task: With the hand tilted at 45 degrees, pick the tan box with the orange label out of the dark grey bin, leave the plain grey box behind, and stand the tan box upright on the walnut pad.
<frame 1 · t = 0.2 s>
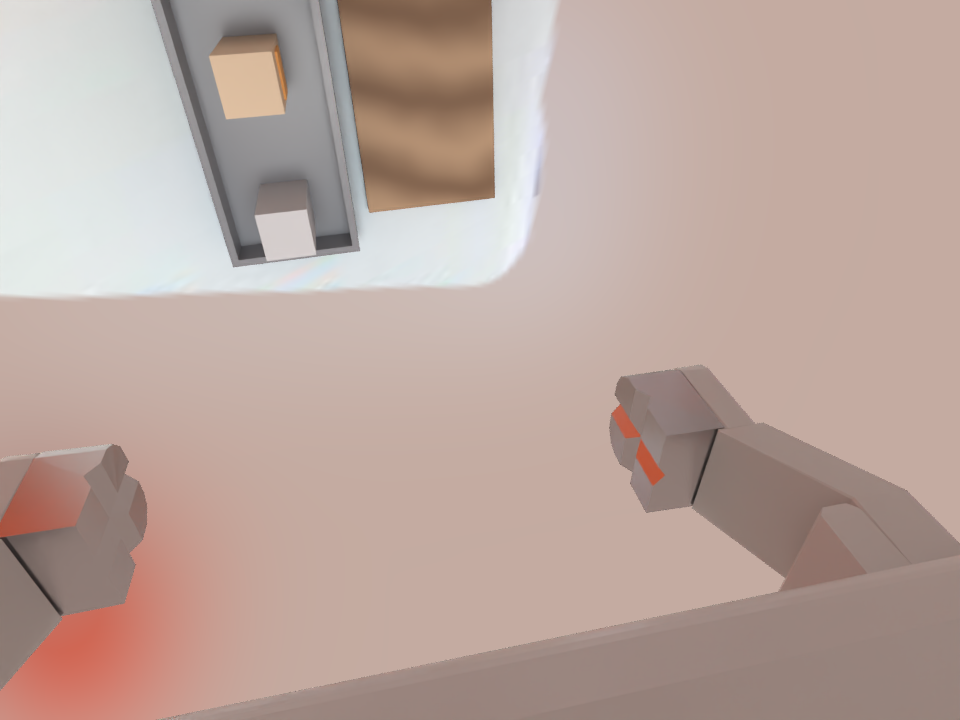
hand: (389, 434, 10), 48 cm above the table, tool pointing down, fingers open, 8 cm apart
bin: (270, 121, 50), on the table
plain box: (288, 203, 54), point 1 cm above the table, touching bin
pad: (421, 88, 52), on the table
labelled box: (256, 63, 47), point 1 cm above the table, touching bin
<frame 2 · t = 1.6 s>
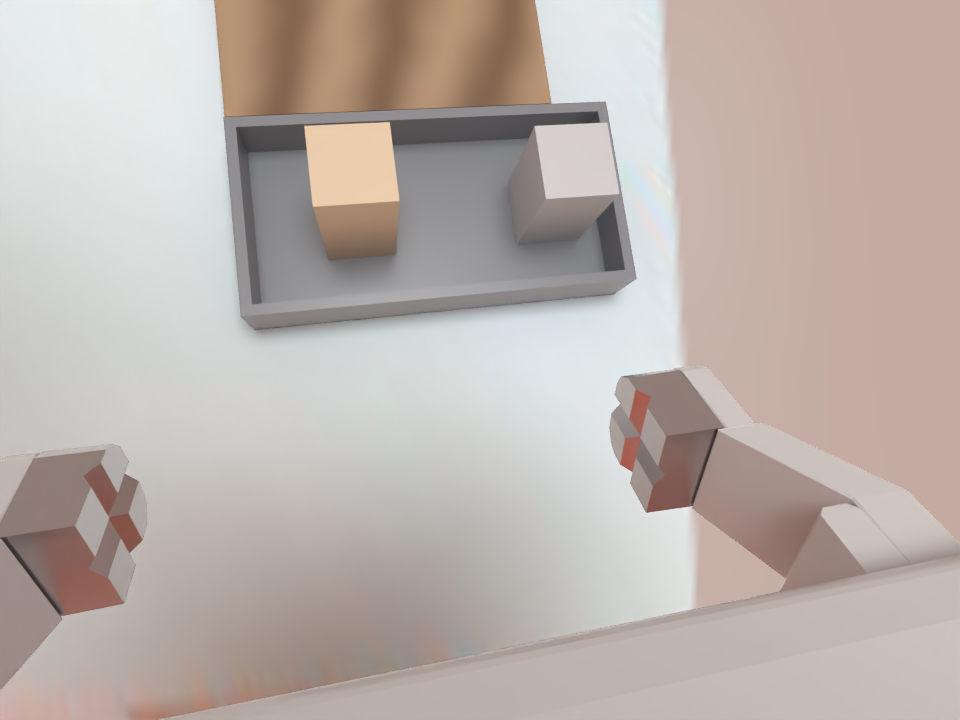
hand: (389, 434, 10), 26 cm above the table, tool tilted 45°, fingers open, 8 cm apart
bin: (432, 223, 38), on the table
plain box: (542, 211, 38), point 1 cm above the table, touching bin
pad: (384, 33, 39), on the table
labelled box: (359, 225, 36), point 1 cm above the table, touching bin
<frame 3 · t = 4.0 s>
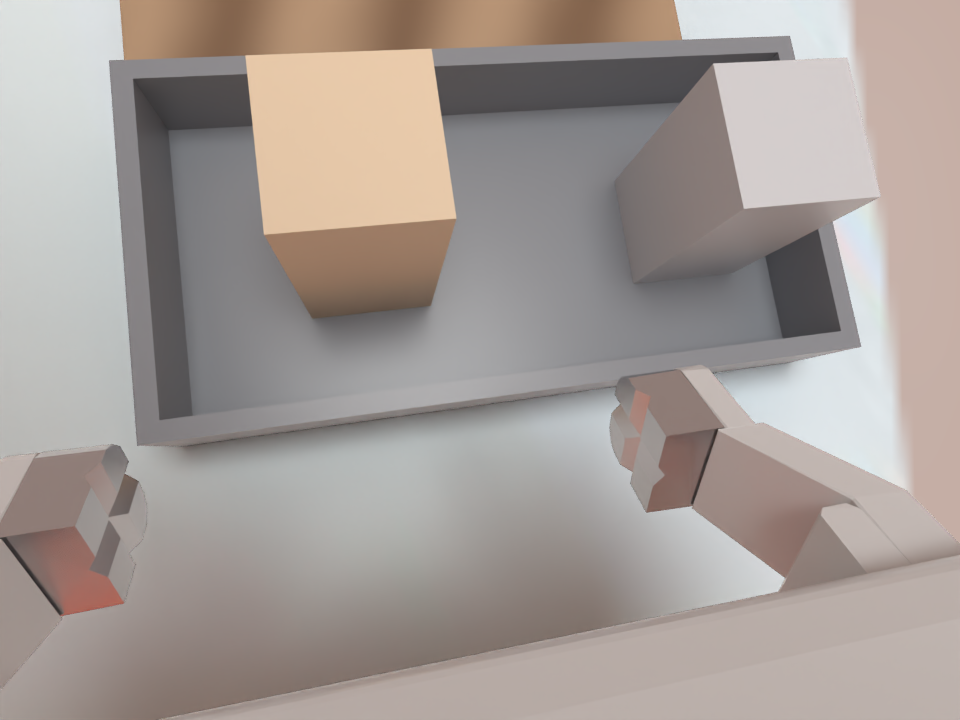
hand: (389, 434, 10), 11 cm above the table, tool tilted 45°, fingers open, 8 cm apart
bin: (489, 249, 22), on the table
plain box: (673, 227, 23), point 1 cm above the table, touching bin
labelled box: (365, 255, 21), point 1 cm above the table, touching bin
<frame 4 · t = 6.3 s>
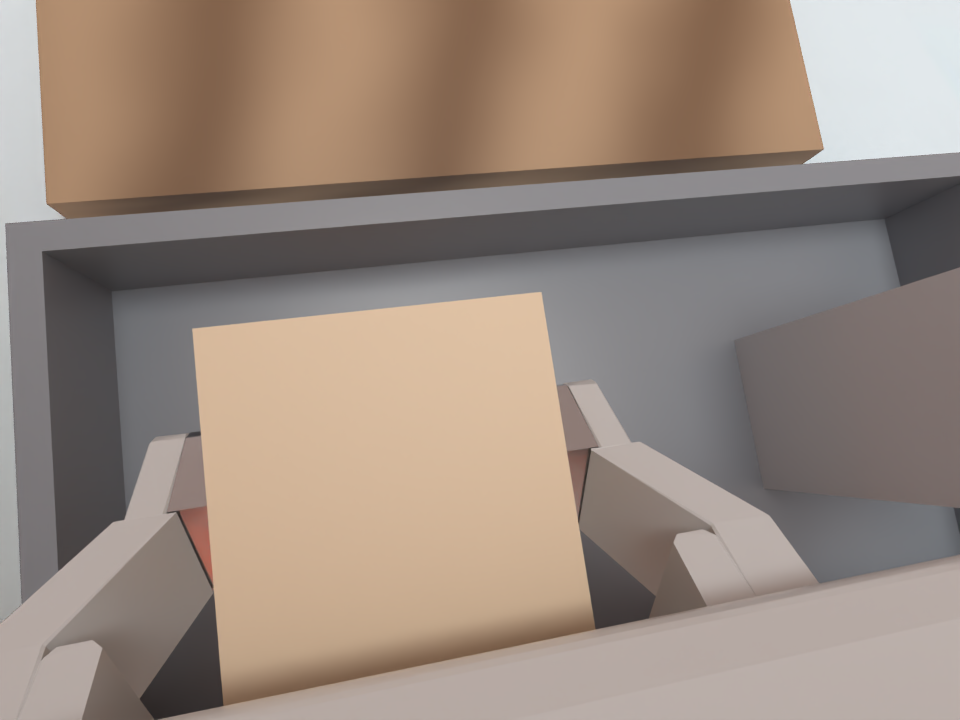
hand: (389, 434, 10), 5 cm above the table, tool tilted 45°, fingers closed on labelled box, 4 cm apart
bin: (563, 440, 16), on the table
plain box: (814, 403, 16), point 1 cm above the table, touching bin
labelled box: (392, 466, 15), point 1 cm above the table, touching bin, gripper
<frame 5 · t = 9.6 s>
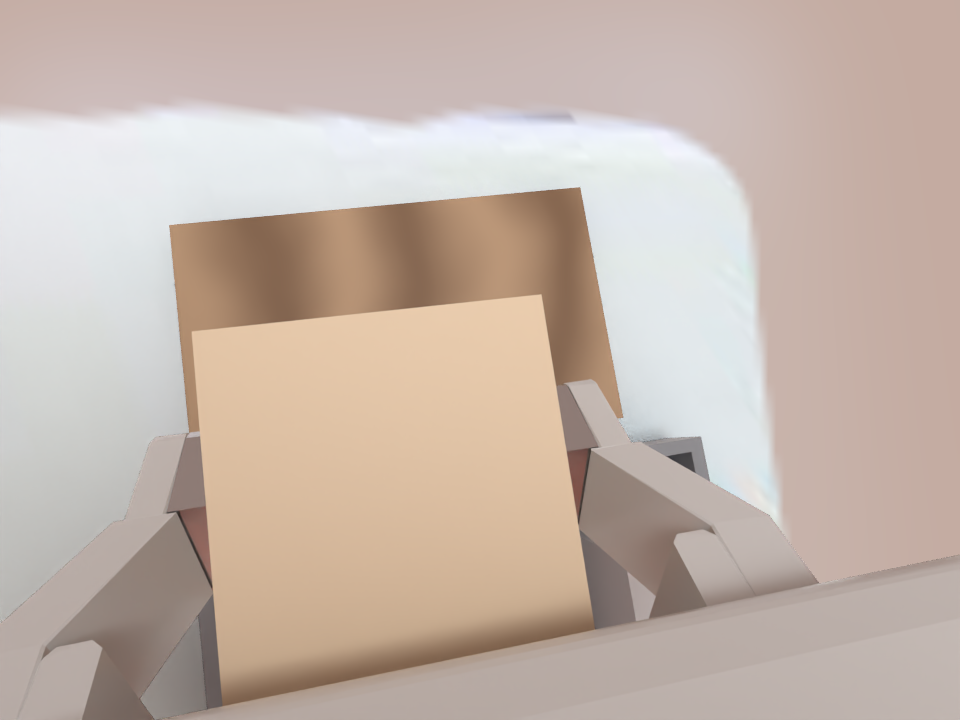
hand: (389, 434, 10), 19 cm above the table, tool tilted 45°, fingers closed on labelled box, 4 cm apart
bin: (472, 592, 28), on the table
plain box: (616, 566, 29), point 1 cm above the table, touching bin
pad: (402, 329, 30), on the table
labelled box: (392, 467, 15), point 15 cm above the table, touching gripper
when the fingers open (7 cm above the table, at t = 12.8 s): labelled box drops 1 cm, resting on pad.
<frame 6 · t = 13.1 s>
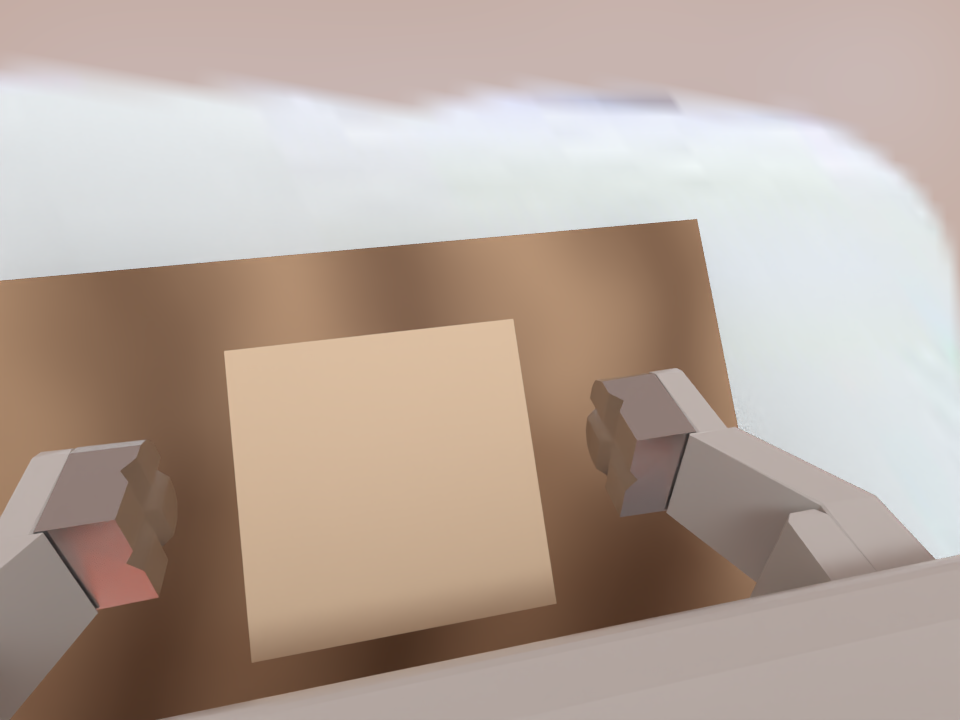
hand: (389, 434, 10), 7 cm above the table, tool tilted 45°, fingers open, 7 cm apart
pad: (393, 463, 17), on the table
labelled box: (391, 464, 16), point 1 cm above the table, touching pad
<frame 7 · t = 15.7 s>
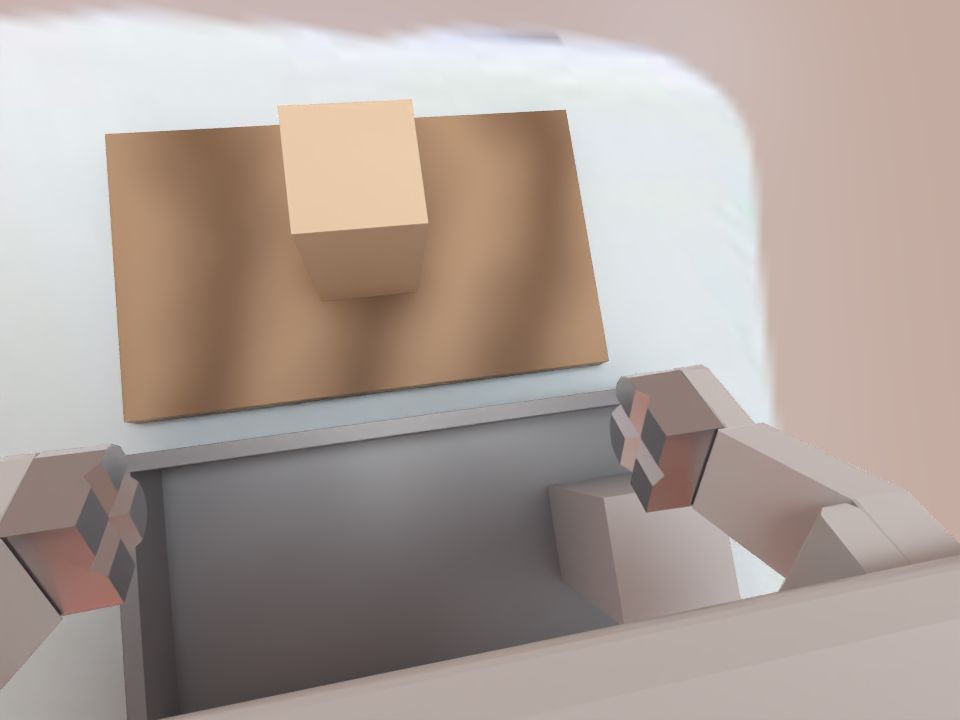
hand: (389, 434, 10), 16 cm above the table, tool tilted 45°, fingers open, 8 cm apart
bin: (438, 550, 26), on the table
plain box: (598, 524, 26), point 1 cm above the table, touching bin
pad: (366, 260, 27), on the table
labelled box: (364, 251, 26), point 1 cm above the table, touching pad
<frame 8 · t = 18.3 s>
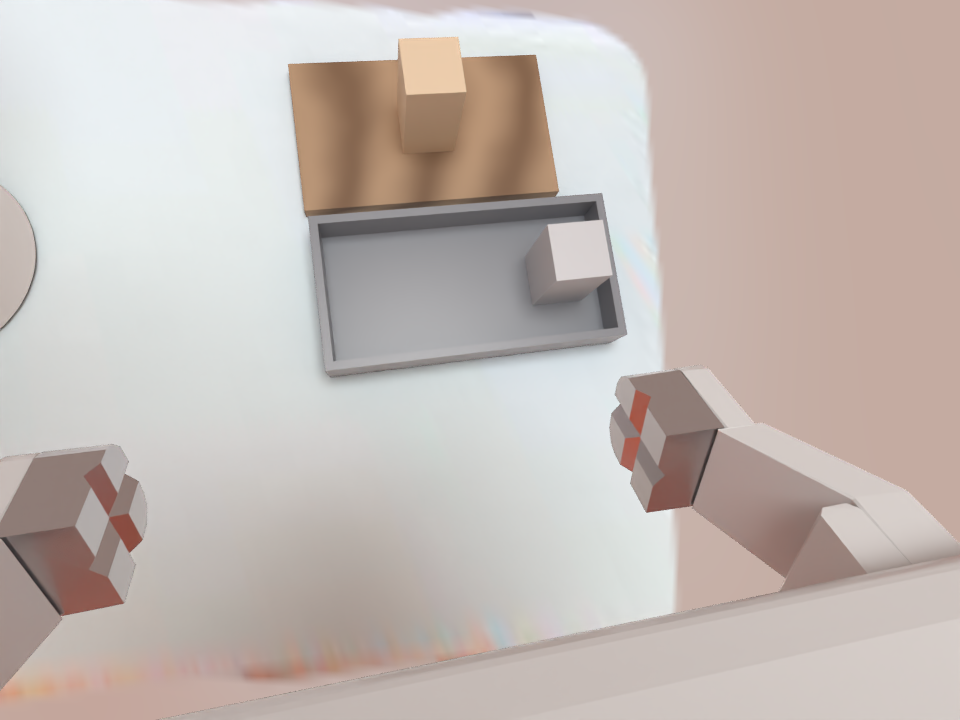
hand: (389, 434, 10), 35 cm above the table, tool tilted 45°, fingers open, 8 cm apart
bin: (465, 289, 47), on the table
plain box: (552, 278, 48), point 1 cm above the table, touching bin
pad: (425, 136, 49), on the table
labelled box: (425, 128, 48), point 1 cm above the table, touching pad
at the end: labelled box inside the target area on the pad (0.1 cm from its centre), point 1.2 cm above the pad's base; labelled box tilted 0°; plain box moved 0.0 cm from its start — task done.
